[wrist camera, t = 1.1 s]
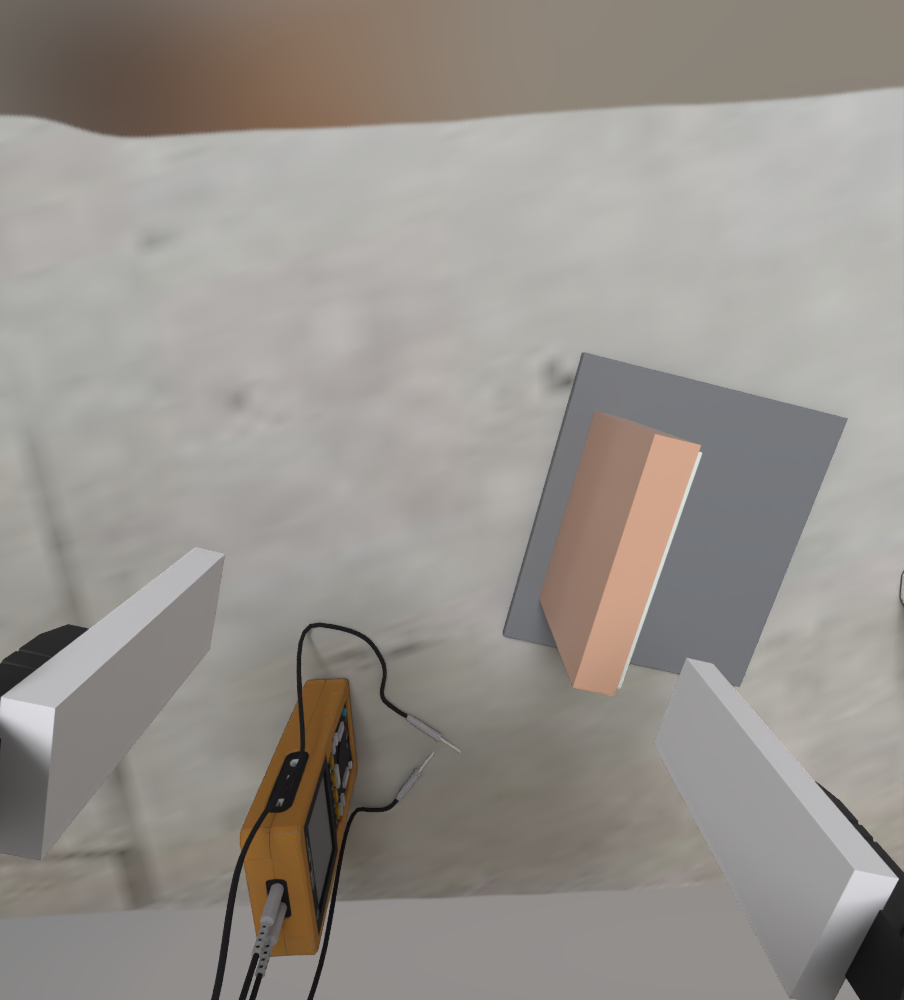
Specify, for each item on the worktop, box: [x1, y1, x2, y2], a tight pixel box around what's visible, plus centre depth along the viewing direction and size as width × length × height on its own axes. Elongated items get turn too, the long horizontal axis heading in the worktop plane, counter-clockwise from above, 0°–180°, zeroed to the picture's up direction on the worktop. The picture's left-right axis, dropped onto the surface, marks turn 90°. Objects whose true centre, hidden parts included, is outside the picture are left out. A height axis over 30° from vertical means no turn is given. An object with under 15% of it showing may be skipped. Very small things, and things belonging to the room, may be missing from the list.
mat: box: [503, 353, 848, 687], centre depth 36 cm, size 16×18×1 cm
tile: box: [539, 411, 702, 696], centre depth 30 cm, size 2×12×10 cm, turn 167°
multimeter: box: [211, 623, 462, 1000], centre depth 29 cm, size 15×10×20 cm
